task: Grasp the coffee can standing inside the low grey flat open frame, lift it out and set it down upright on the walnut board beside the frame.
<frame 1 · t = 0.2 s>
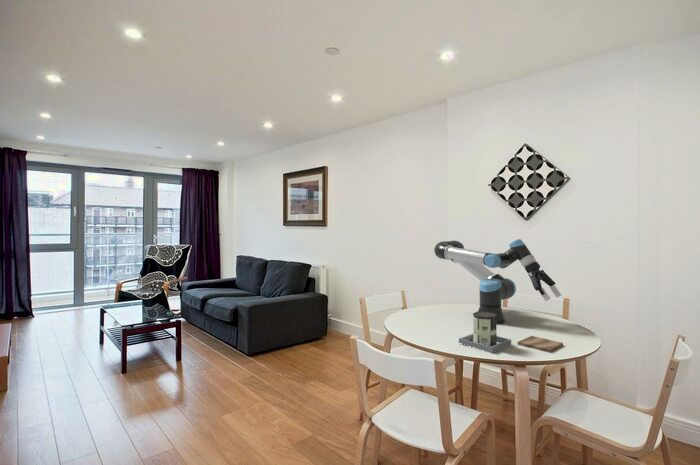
hand: (553, 298, 194), 15 cm above the table, tool tilted 35°, fingers open, 13 cm apart
grey flat open frame: (484, 344, 168), on the table
coffee can: (484, 344, 168), resting in grey flat open frame
walnut board: (540, 344, 166), on the table
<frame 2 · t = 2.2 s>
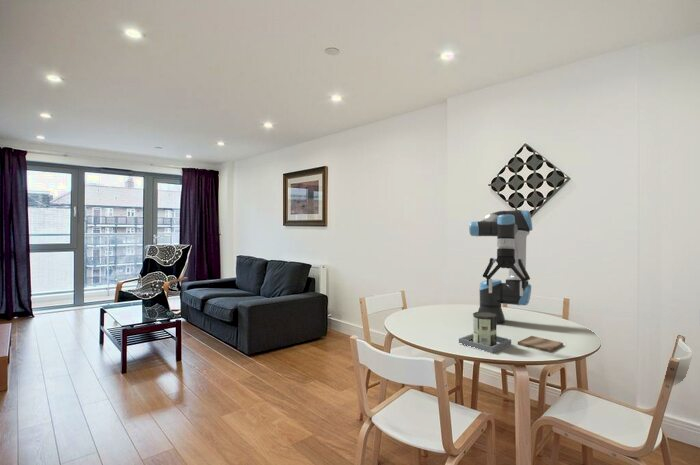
hand: (505, 294, 167), 23 cm above the table, tool pointing down, fingers open, 13 cm apart
nothing on the table moved.
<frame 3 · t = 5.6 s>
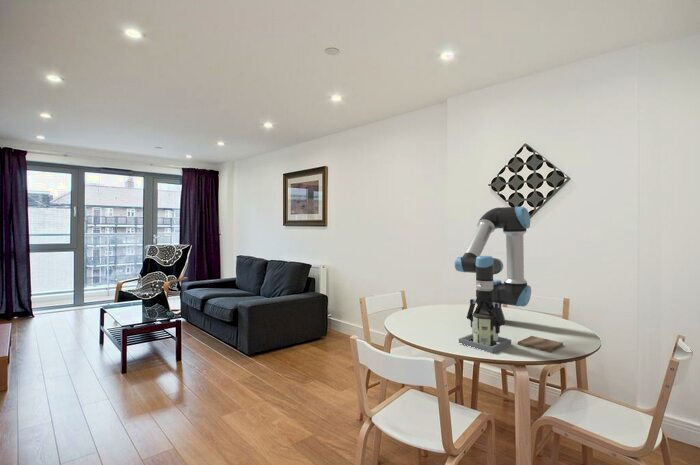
hand: (484, 337, 168), 3 cm above the table, tool pointing down, fingers closed on coffee can, 10 cm apart
coffee can: (484, 344, 168), resting in grey flat open frame, touching gripper
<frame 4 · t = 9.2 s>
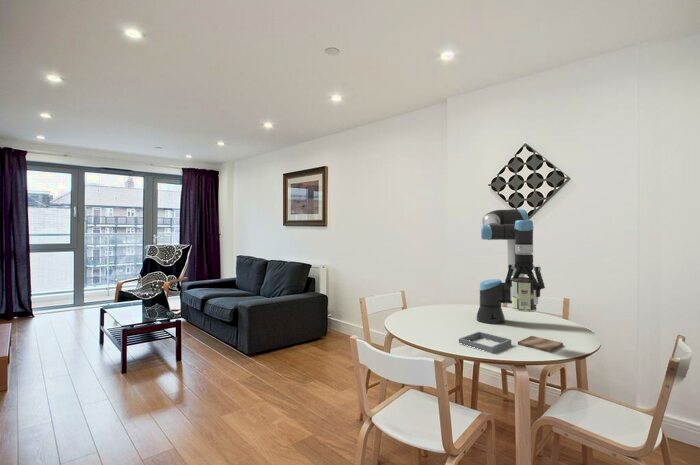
hand: (524, 302, 166), 20 cm above the table, tool pointing down, fingers closed on coffee can, 10 cm apart
coffee can: (523, 309, 166), point 16 cm above the table, touching gripper
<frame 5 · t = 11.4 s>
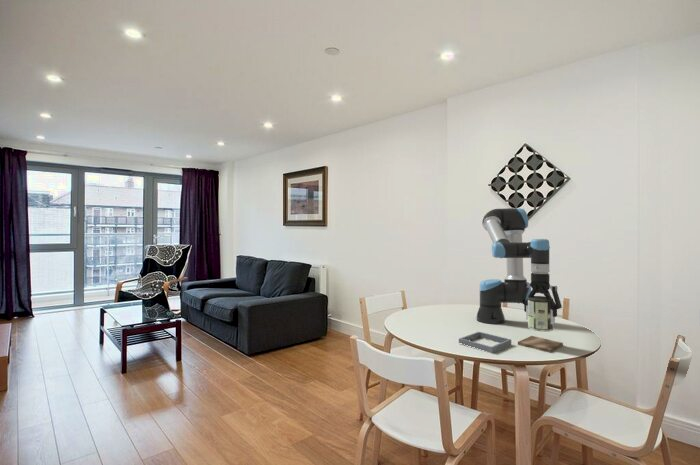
hand: (540, 321, 166), 11 cm above the table, tool pointing down, fingers closed on coffee can, 10 cm apart
coffee can: (540, 328, 166), point 7 cm above the table, touching gripper
when the fingers open (6 cm above the table, at t = 13.3 s): coffee can drops 1 cm, resting on walnut board.
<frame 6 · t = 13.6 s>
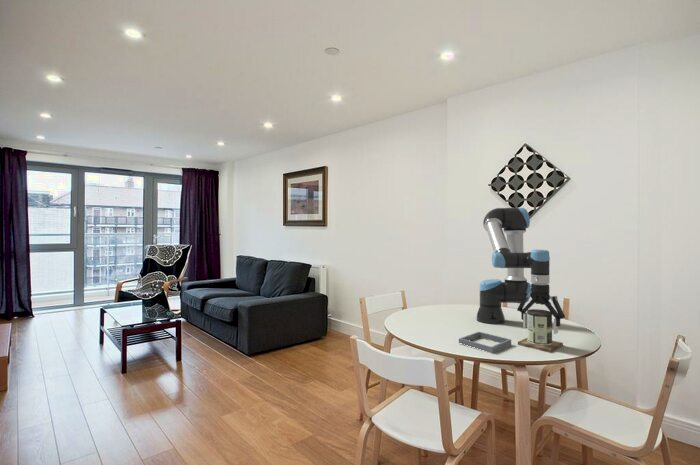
hand: (540, 330, 166), 7 cm above the table, tool pointing down, fingers open, 13 cm apart
coffee can: (539, 342, 166), point 1 cm above the table, touching walnut board
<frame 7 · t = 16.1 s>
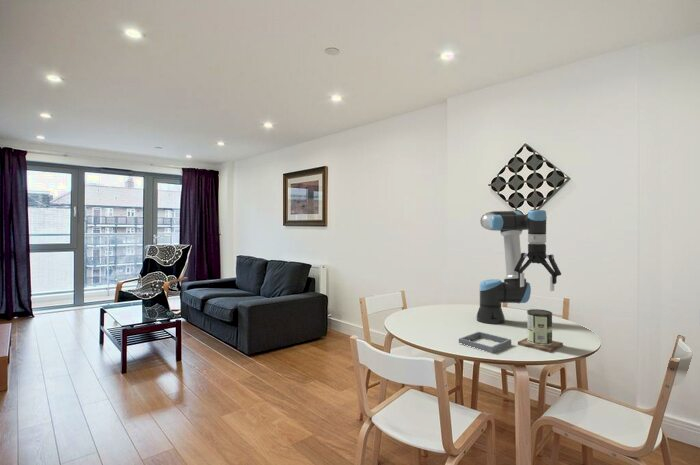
hand: (536, 288, 170), 25 cm above the table, tool pointing down, fingers open, 13 cm apart
nothing on the table moved.
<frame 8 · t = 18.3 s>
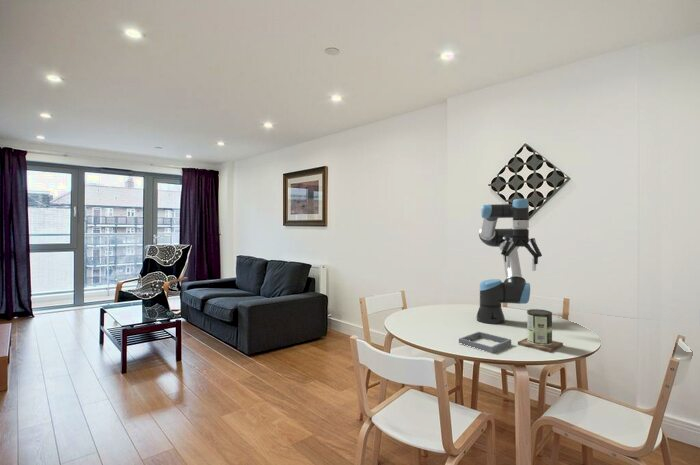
hand: (520, 269, 189), 32 cm above the table, tool pointing down, fingers open, 13 cm apart
nothing on the table moved.
at the end: coffee can inside the target area on the walnut board (0.3 cm from its centre), point 1.0 cm above the walnut board's base; coffee can tilted 0°; the gripper is holding nothing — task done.
